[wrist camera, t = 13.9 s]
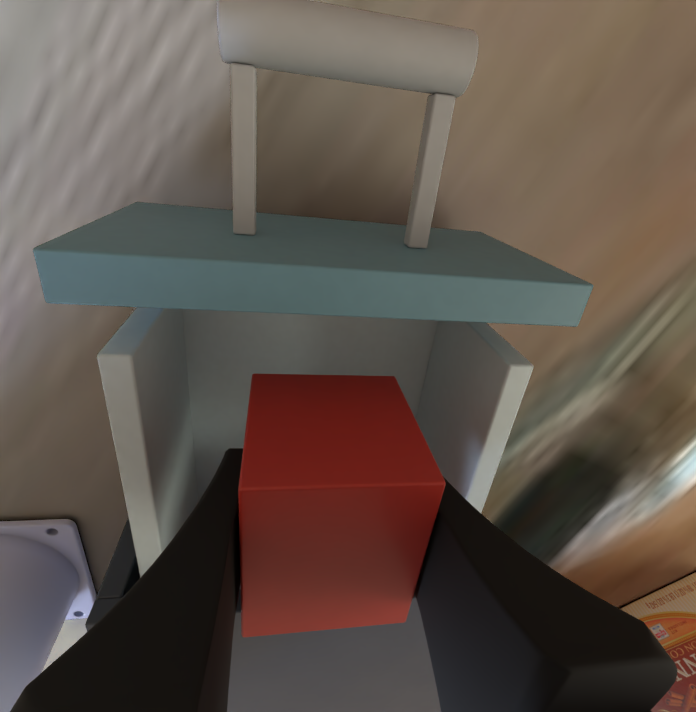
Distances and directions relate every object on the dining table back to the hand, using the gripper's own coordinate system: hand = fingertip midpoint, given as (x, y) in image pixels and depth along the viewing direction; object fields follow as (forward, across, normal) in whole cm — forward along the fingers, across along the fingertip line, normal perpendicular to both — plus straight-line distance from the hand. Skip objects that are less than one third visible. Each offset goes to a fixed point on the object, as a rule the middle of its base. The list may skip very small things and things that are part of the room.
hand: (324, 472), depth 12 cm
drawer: (+6, 0, -2) cm, 7 cm away
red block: (+1, 0, 0) cm, 1 cm away
